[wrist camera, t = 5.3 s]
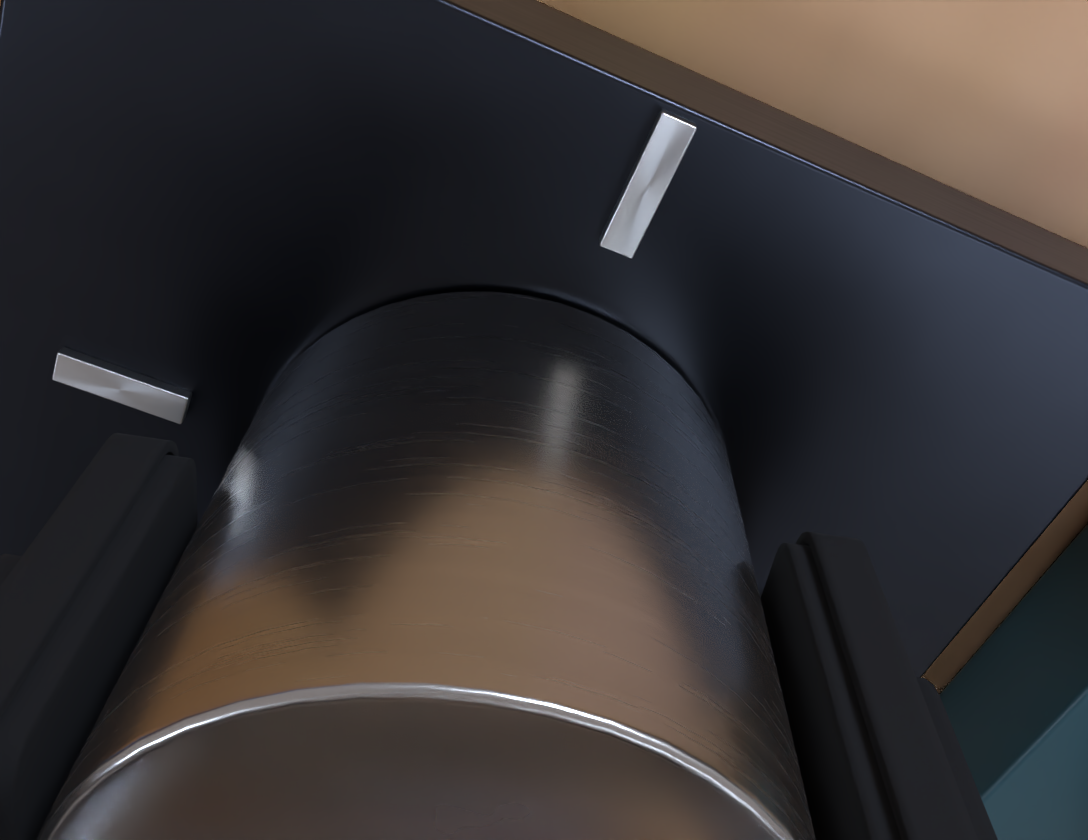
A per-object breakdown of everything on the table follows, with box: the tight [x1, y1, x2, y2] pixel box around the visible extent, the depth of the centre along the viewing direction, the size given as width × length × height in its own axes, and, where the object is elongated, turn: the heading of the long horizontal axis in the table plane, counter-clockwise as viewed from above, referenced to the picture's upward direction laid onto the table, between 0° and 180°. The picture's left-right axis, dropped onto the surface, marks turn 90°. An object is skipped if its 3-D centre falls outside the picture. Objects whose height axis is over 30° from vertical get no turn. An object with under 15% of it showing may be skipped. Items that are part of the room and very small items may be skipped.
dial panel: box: [0, 0, 1088, 678], centre depth 13 cm, size 12×10×2 cm
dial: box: [36, 291, 816, 840], centre depth 9 cm, size 6×6×6 cm
